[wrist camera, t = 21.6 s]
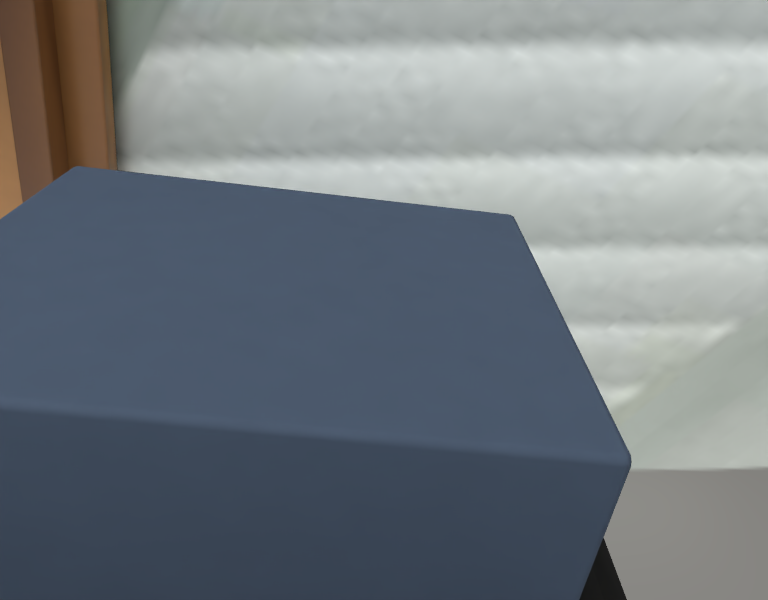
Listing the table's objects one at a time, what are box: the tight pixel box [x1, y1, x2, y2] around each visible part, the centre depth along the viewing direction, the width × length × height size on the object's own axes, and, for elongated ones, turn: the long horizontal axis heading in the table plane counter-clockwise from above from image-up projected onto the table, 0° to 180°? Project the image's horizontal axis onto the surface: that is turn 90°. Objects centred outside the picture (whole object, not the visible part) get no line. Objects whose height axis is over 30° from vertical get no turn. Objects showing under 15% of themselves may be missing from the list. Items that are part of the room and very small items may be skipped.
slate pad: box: [0, 166, 631, 600], centre depth 9 cm, size 6×8×5 cm
